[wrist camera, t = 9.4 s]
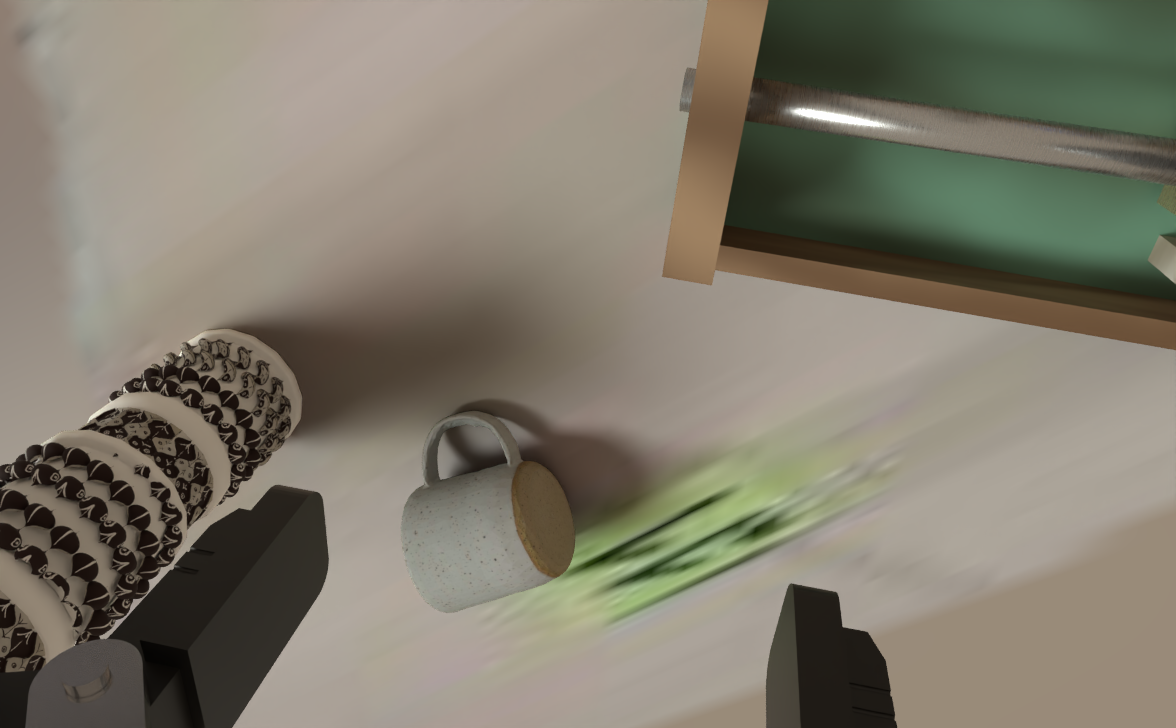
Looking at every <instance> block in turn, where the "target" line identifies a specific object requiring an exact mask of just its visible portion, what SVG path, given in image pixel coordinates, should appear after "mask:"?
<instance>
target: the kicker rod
mask: <svg viewBox="0 0 1176 728" xmlns="http://www.w3.org/2000/svg"><path fill="white" fill-rule="evenodd" d="M695 75H696V69H693V68H687V69H686V73H685V77H684V82H683V88H682V94H681V101H680V111H683V112H690V106H691V100H692V94H693V88H694V82H695ZM745 121H749V122H756V123H762V124H769V125H775V126H782V127H789V128H795V129H802V130H808V131H815V132H821V133H828V134H835V135H841V136H848V137H854V138H861V139H867V140H874V141H881V142H887V143H894V144H900V145H907V146H913V147H920V148H927V149H933V150H940V151H946V152H953V153H960V154H966V155H973V156H979V157H986V158H992V159H999V160H1006V161H1012V162H1019V163H1025V164H1032V165H1038V166H1045V167H1052V168H1058V169H1065V170H1071V171H1078V172H1084V173H1091V174H1098V175H1104V176H1111V177H1117V178H1124V179H1130V180H1137V181H1144V182H1150V183H1157V184H1163V185H1164V187H1163V189H1162V192H1161V194H1160V196H1159V198H1158V200H1157V202H1156V203H1158V204H1159V205H1161V206H1162V207H1164V208H1165V209H1167V210H1168V211H1170V212H1171V213H1173V214H1174V215H1176V139H1173V138H1166V137H1159V136H1152V135H1146V134H1139V133H1132V132H1125V131H1118V130H1111V129H1104V128H1098V127H1091V126H1084V125H1077V124H1070V123H1063V122H1056V121H1050V120H1043V119H1036V118H1029V117H1022V116H1015V115H1008V114H1002V113H995V112H988V111H981V110H974V109H967V108H960V107H954V106H947V105H940V104H933V103H926V102H919V101H912V100H905V99H899V98H892V97H885V96H878V95H871V94H864V93H857V92H851V91H844V90H837V89H830V88H823V87H816V86H809V85H803V84H796V83H789V82H782V81H775V80H768V79H761V78H755V77H753V81H752V86H751V91H750V96H749V101H748V106H747V111H746V116H745Z"/></svg>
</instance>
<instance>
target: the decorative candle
mask: <svg viewBox="0 0 1176 728" xmlns="http://www.w3.org/2000/svg"><path fill="white" fill-rule="evenodd" d="M180 348H181V350H182V351H181V353H180V355H179V356H177V355H176V354H174V353H172V352H170V353H169V354H166V355H165V356H164V358H163V360H164V362H165V366H163V367H160V366H159V365H157V364H152V365H151V366H150V368H148V369H146V370H145V371H143V373H142V375H141V379H140V378H134V379H132V380H131V381H129V382H127V383H125V384H124V385H123V387H122V391H115V392H113V393H112V394H111V395H110V397H109V404H107V405H106V406H104V407H103V408H101V409H100V410H99V411H97V412H96V413H94V414H93V415H92V416H90V418H89V420H88V423H87V424H86V425H84V426H83V427H81V428H80V429H78V430H75V431H62V432H60V433H58V434H57V435H55V436H53V437H52V438H50V439H49V440H47V441H45V442H44V443H42V444H41V445H32V446H30V447H29V448H28V449H27V450H26V451H25V454H22V455H20V456H19V457H18V458H17V459H16V462H14V463H12V464H5V465H2V466H0V673H4V672H18V671H32V670H41V669H42V668H43V667H44V666H45V665H46V664H47V663H48V662H49V661H50V660H51V659H53V658H54V657H56V656H57V655H59V654H60V653H62V652H64V651H66V650H67V649H69V648H72V647H73V646H74V644H75V641H77V642H76V644H75V646H76V645H79V644H82V643H85V642H88V641H93V640H99V639H100V637H99V636H100V635H103V634H105V633H106V632H107V631H109V630H110V629H111V628H112V627H113V626H114V624H115V620H118V619H121V618H123V617H124V616H126V615H127V613H128V612H129V610H130V605H131V604H132V602H133V599H139V598H142V597H143V596H145V595H146V594H147V592H148V590H149V582H148V580H149V579H152V578H154V577H156V576H157V575H158V573H159V572H160V567H166V566H168V565H169V564H171V562H172V561H173V559H174V557H175V555H176V554H177V553H178V551H179V549H180V548H181V546H182V544H183V543H184V541H185V539H186V538H187V530H188V529H189V527H190V526H192V524H193V523H194V522H195V521H197V520H199V519H201V518H203V517H205V516H207V515H208V514H209V512H210V511H211V510H212V509H213V508H214V507H215V506H218V505H220V504H222V503H223V502H224V501H225V499H226V497H233V496H234V495H235V494H236V493H237V492H238V489H239V485H240V482H241V481H247V480H249V479H250V478H251V477H252V475H253V471H254V470H255V469H256V468H257V467H258V466H262V465H264V464H265V463H267V462H268V460H269V459H270V457H271V455H272V452H274V451H277V450H278V449H279V448H281V446H282V445H283V443H284V441H285V439H286V438H288V437H289V436H290V435H291V433H292V432H293V430H294V429H295V427H296V426H297V424H298V423H299V421H300V419H301V412H302V394H301V392H300V389H299V386H298V383H297V380H296V378H295V375H294V373H293V372H292V370H291V369H290V368H289V367H288V365H287V364H286V363H285V362H284V360H283V359H282V358H281V356H280V355H279V354H278V353H277V352H276V351H275V350H273V349H272V348H270V347H269V346H267V345H266V344H264V343H263V342H262V341H260V340H259V339H257V338H256V337H254V336H251V335H248V334H245V333H242V332H238V331H235V330H232V329H217V330H206V331H204V332H202V333H201V334H199V335H198V336H196V337H194V338H193V339H191V340H189V341H188V342H184V343H182V344H181V346H180ZM10 477H12V479H10ZM110 609H111V610H110ZM109 610H110V611H109ZM85 639H86V640H85ZM84 640H85V641H84Z"/></svg>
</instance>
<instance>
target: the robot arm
mask: <svg viewBox="0 0 1176 728" xmlns="http://www.w3.org/2000/svg"><path fill="white" fill-rule="evenodd" d="M328 562H329V558H328V547H327V536H326V526H325V516H324V506H323V499H322V496H321V495H320V494H319V493H318V492H314V491H308V490H303V489H298V488H292V487H287V486H282V485H275V486H273V487H271V488H270V489H269V490H268V491H267V492H266V494H265V495H264V496H263V497H262V498H261V499H260V501H259V502H258V503H257V504H256V505H255V506H254V507H253V509H252V510H245V509H240V508H239V509H237V510H235V511H234V512H232V513H230V514H229V515H227V516H225V517H224V518H222V519H220V520H219V521H217V522H215V523H214V524H212V525H210V526H209V528H208V529H207V530H206V531H205V532H204V533H203V534H202V535H201V536H200V537H199V539H198V540H197V541H196V542H195V543H194V544H193V545H192V546H191V549H190V551H189V552H186V553H185V554H184V555H183V556H182V557H181V558H180V559H179V561H178V562H177V563H176V564H175V565H174V569H173V570H169V572H168V573H167V574H166V575H165V576H164V577H163V578H162V579H161V580H160V581H159V583H158V584H157V585H156V586H155V587H154V588H153V589H152V590H151V591H150V592H149V594H148V595H147V596H146V597H145V598H144V599H143V600H142V601H141V602H140V603H139V605H138V606H137V607H136V608H135V609H134V610H133V611H132V612H131V613H130V614H129V616H128V617H127V618H126V619H125V620H124V621H123V622H122V623H121V624H120V625H119V627H118V628H117V629H116V630H115V631H114V632H113V633H112V634H111V635H110V636H109V637H108V638H107V639H99V640H93V641H88V642H85V643H82V644H79V645H76V646H74V647H72V648H69V649H67V650H66V651H64V652H62V653H60V654H59V655H57V656H56V657H54V658H53V659H51V660H50V661H49V662H48V663H47V664H46V665H45V666H44V667H43V668H42V669H41V670H32V671H18V672H4V673H0V728H232V727H233V725H234V724H235V722H236V721H237V719H238V718H239V716H240V715H241V713H242V712H243V710H244V709H245V707H246V706H247V704H248V703H249V701H250V699H251V698H252V696H253V695H254V693H255V692H256V690H257V689H258V687H259V686H260V684H261V683H262V681H263V680H264V678H265V676H266V675H267V673H268V672H269V670H270V669H271V667H272V666H273V664H274V663H275V661H276V660H277V658H278V657H279V655H280V654H281V652H282V650H283V649H284V647H285V646H286V644H287V643H288V641H289V640H290V638H291V637H292V635H293V634H294V632H295V631H296V629H297V628H298V626H299V624H300V623H301V621H302V620H303V618H304V617H305V615H306V614H307V612H308V611H309V609H310V608H311V606H312V605H313V603H314V602H315V600H316V598H317V597H318V595H319V594H320V592H321V590H322V587H323V585H324V582H325V579H326V575H327V571H328ZM890 691H891V690H890V684H889V678H888V672H887V666H886V661H885V659H884V657H883V656H882V654H881V653H880V651H879V650H878V648H877V646H876V645H875V643H874V642H873V640H872V638H871V637H870V635H869V634H868V632H865V631H860V630H854V629H849V628H844V627H842V619H841V611H840V602H839V597H838V594H837V593H836V592H833V591H828V590H823V589H817V588H812V587H807V586H802V585H796V584H790V585H789V586H788V589H787V592H786V595H785V599H784V603H783V606H782V610H781V613H780V617H779V621H778V624H777V628H776V632H775V635H774V639H773V643H772V646H771V650H770V655H769V661H768V668H767V679H766V728H897V724H896V721H895V720H894V718H895V712H894V707H893V701H892V697H891V696H890Z"/></svg>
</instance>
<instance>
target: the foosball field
mask: <svg viewBox="0 0 1176 728" xmlns="http://www.w3.org/2000/svg"><path fill="white" fill-rule="evenodd" d="M753 77H755V78H761V79H768V80H775V81H782V82H789V83H796V84H803V85H809V86H816V87H823V88H830V89H837V90H844V91H851V92H857V93H864V94H871V95H878V96H885V97H892V98H899V99H905V100H912V101H919V102H926V103H933V104H940V105H947V106H954V107H960V108H967V109H974V110H981V111H988V112H995V113H1002V114H1008V115H1015V116H1022V117H1029V118H1036V119H1043V120H1050V121H1056V122H1063V123H1070V124H1077V125H1084V126H1091V127H1098V128H1104V129H1111V130H1118V131H1125V132H1132V133H1139V134H1146V135H1152V136H1159V137H1166V138H1173V139H1176V0H708V3H707V9H706V15H705V21H704V27H703V33H702V39H701V45H700V51H699V57H698V63H697V69H696V75H695V82H694V88H693V94H692V100H691V106H690V112H689V118H688V124H687V130H686V136H685V142H684V148H683V154H682V160H681V166H680V172H679V178H678V184H677V190H676V196H675V202H674V208H673V214H672V220H671V226H670V232H669V238H668V244H667V250H666V256H665V262H664V268H663V274H662V277H667V278H673V279H678V280H684V281H690V282H696V283H701V284H707V285H712V282H713V277H714V272H715V270H718V271H724V272H730V273H736V274H741V275H747V276H753V277H759V278H764V279H770V280H776V281H782V282H787V283H793V284H799V285H805V286H810V287H816V288H822V289H828V290H833V291H839V292H845V293H851V294H856V295H862V296H868V297H874V298H879V299H885V300H891V301H897V302H902V303H908V304H914V305H920V306H925V307H931V308H937V309H943V310H948V311H954V312H960V313H966V314H971V315H977V316H983V317H989V318H994V319H1000V320H1006V321H1012V322H1017V323H1023V324H1029V325H1035V326H1040V327H1046V328H1052V329H1058V330H1063V331H1069V332H1075V333H1081V334H1086V335H1092V336H1098V337H1104V338H1109V339H1115V340H1121V341H1127V342H1132V343H1138V344H1144V345H1150V346H1155V347H1161V348H1167V349H1173V350H1176V215H1174V214H1173V213H1171V212H1170V211H1168V210H1167V209H1165V208H1164V207H1162V206H1161V205H1159V204H1158V203H1156V202H1157V200H1158V198H1159V196H1160V194H1161V192H1162V189H1163V187H1164V185H1163V184H1157V183H1150V182H1144V181H1137V180H1130V179H1124V178H1117V177H1111V176H1104V175H1098V174H1091V173H1084V172H1078V171H1071V170H1065V169H1058V168H1052V167H1045V166H1038V165H1032V164H1025V163H1019V162H1012V161H1006V160H999V159H992V158H986V157H979V156H973V155H966V154H960V153H953V152H946V151H940V150H933V149H927V148H920V147H913V146H907V145H900V144H894V143H887V142H881V141H874V140H867V139H861V138H854V137H848V136H841V135H835V134H828V133H821V132H815V131H808V130H802V129H795V128H789V127H782V126H775V125H769V124H762V123H756V122H749V121H745V116H746V111H747V106H748V101H749V96H750V91H751V86H752V81H753Z"/></svg>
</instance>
